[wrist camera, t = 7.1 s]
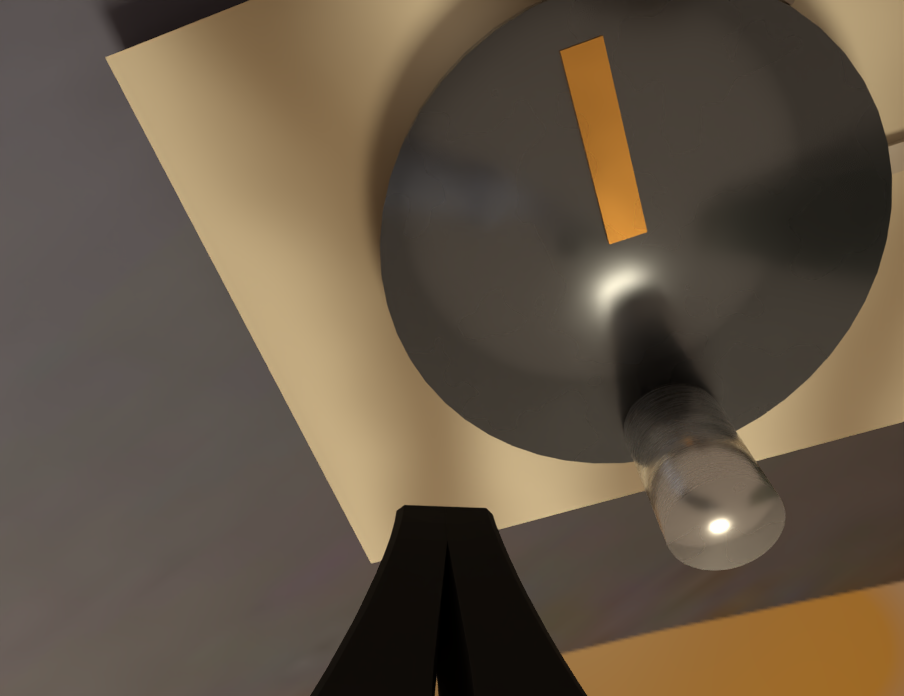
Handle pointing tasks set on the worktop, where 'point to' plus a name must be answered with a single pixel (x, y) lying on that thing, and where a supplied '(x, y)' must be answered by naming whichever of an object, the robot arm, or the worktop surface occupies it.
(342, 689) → the robot arm
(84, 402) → the worktop surface
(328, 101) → the board
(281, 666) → the worktop surface
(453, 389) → the dial
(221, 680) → the worktop surface
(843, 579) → the worktop surface
